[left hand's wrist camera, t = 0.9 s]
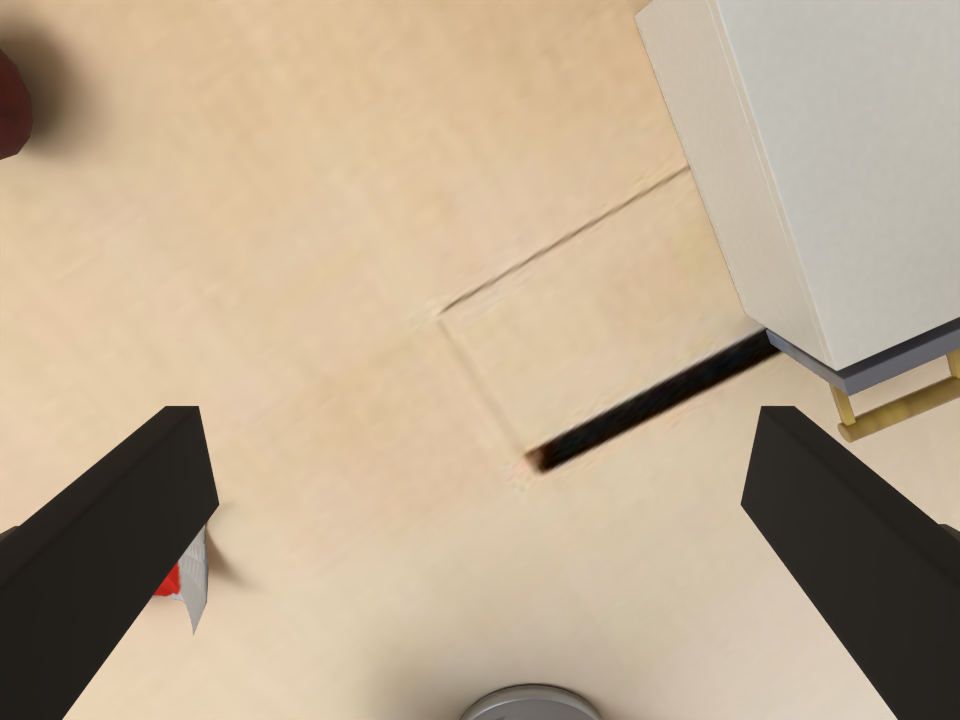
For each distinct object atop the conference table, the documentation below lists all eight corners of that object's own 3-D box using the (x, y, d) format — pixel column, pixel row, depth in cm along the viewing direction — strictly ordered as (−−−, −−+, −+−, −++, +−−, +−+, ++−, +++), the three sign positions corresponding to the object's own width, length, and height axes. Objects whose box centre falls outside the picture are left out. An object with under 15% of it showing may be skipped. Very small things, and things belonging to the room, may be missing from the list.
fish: (-24, 563, 41) (-52, 677, 34) (170, 445, 45) (183, 523, 38) (82, 623, 48) (79, 728, 41) (243, 515, 52) (267, 593, 44)
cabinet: (885, 248, 37) (1033, 284, 27) (745, 314, 39) (836, 371, 29) (798, -82, 31) (952, -193, 21) (633, 16, 32) (702, -42, 22)
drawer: (912, 353, 39) (1028, 409, 31) (793, 406, 41) (873, 472, 32) (814, -14, 31) (937, -73, 23) (669, 69, 32) (734, 42, 24)
